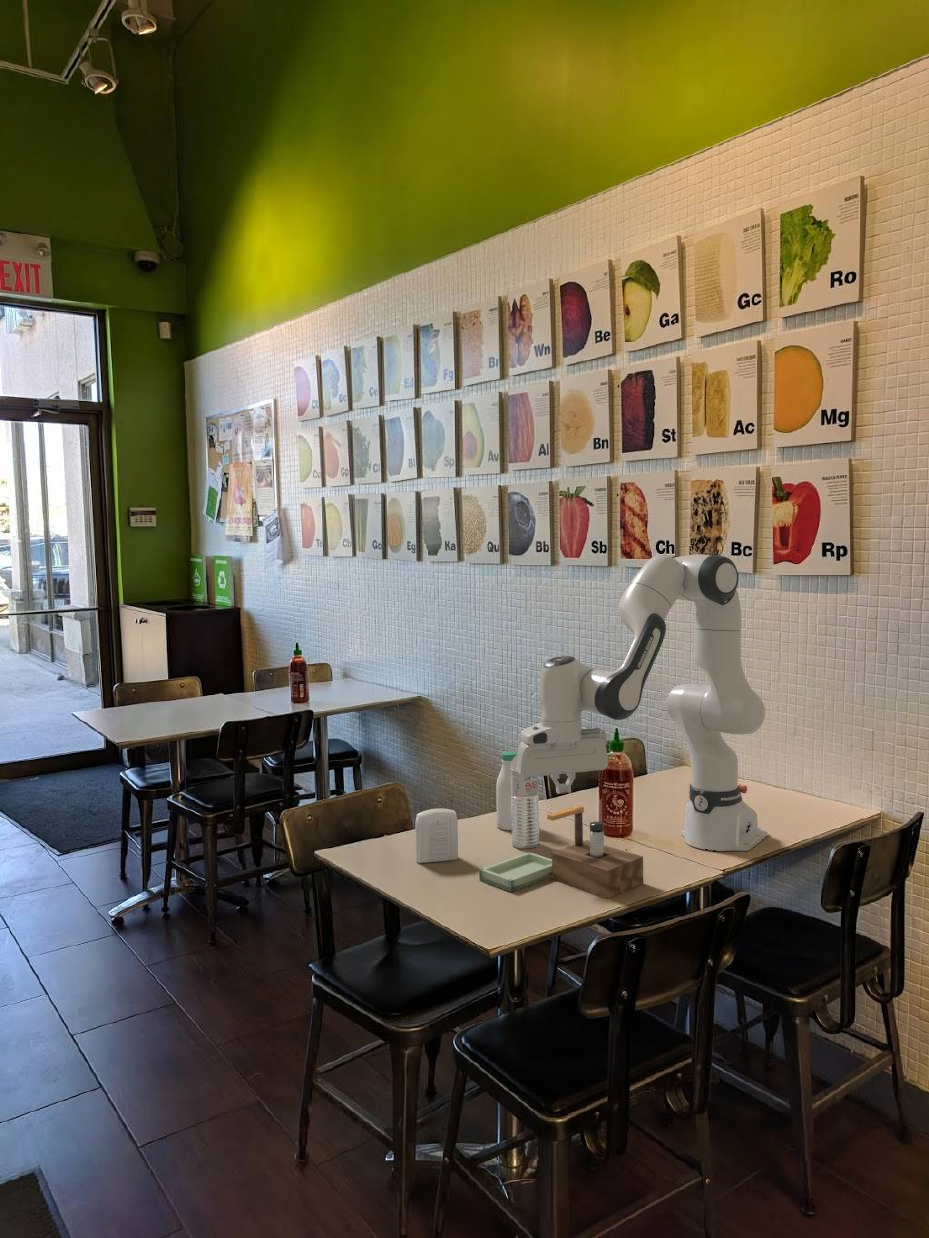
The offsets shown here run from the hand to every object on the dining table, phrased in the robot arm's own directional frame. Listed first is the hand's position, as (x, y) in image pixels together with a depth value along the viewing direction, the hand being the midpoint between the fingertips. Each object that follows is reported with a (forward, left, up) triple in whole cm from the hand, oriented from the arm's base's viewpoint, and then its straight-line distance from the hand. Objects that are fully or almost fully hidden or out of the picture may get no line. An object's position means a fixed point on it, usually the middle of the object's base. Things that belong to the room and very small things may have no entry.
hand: (563, 792), depth 201 cm
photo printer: (+11, -31, -20) cm, 38 cm away
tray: (+5, -9, -20) cm, 22 cm away
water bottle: (-11, -23, -20) cm, 32 cm away
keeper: (-3, -2, -6) cm, 7 cm away
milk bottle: (-19, -36, -20) cm, 45 cm away
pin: (-5, +5, -20) cm, 21 cm away
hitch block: (-5, +5, -20) cm, 21 cm away
